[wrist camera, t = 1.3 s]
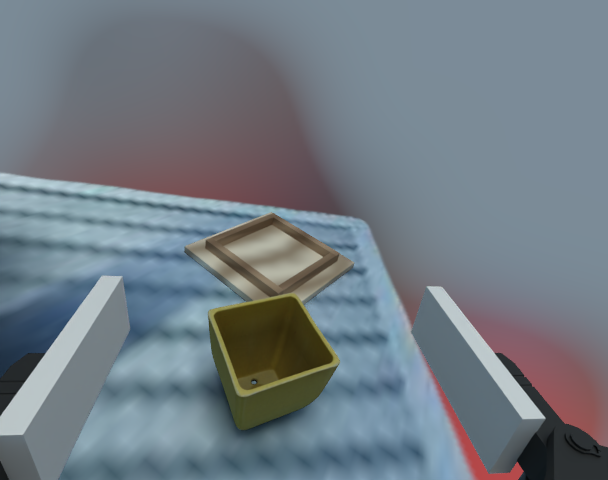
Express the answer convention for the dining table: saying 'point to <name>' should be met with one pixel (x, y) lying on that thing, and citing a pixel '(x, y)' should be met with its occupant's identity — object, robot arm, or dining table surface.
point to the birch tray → (269, 259)
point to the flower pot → (269, 357)
